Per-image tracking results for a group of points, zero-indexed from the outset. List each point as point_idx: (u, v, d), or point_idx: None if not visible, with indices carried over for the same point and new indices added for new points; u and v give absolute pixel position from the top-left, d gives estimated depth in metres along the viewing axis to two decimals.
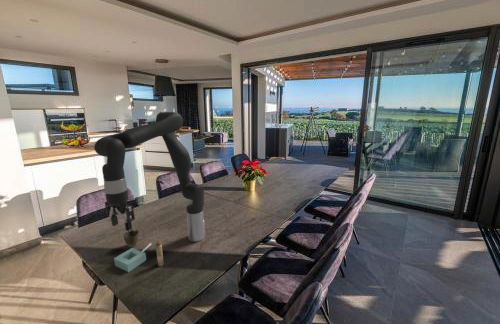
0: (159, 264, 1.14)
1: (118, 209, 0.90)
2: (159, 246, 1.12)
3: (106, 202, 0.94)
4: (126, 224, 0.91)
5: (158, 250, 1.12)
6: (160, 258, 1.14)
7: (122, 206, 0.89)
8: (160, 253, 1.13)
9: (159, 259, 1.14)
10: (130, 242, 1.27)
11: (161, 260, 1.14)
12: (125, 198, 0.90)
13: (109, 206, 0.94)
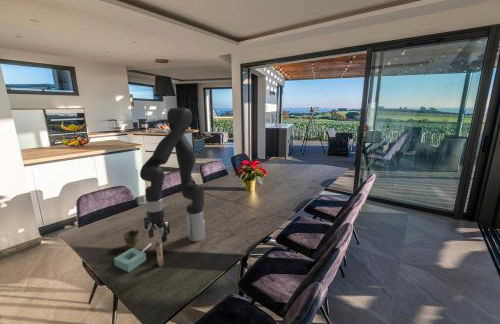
0: (159, 264, 1.14)
1: (156, 224, 1.08)
2: (159, 246, 1.12)
3: (145, 218, 1.12)
4: (162, 237, 1.09)
5: (158, 250, 1.12)
6: (160, 258, 1.14)
7: (160, 222, 1.08)
8: (160, 253, 1.13)
9: (159, 259, 1.14)
10: (130, 242, 1.27)
11: (161, 260, 1.14)
12: (162, 215, 1.08)
13: (147, 221, 1.12)
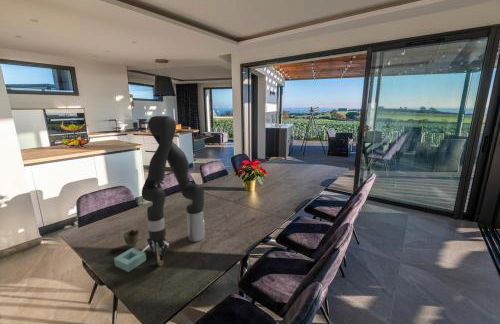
0: (159, 264, 1.14)
1: (158, 243, 1.10)
2: None
3: (148, 239, 1.14)
4: (160, 255, 1.13)
5: (158, 250, 1.12)
6: None
7: (162, 240, 1.10)
8: None
9: (159, 259, 1.14)
10: (130, 242, 1.27)
11: None
12: (164, 234, 1.11)
13: (151, 241, 1.14)
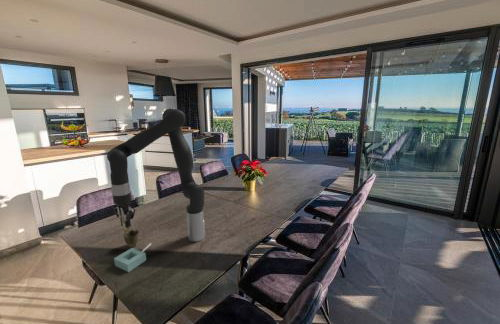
0: (124, 231, 1.11)
1: (123, 208, 1.07)
2: None
3: (113, 205, 1.11)
4: (126, 222, 1.10)
5: (123, 217, 1.09)
6: None
7: (126, 206, 1.07)
8: None
9: (124, 226, 1.10)
10: (130, 242, 1.27)
11: None
12: (129, 199, 1.08)
13: (117, 208, 1.11)
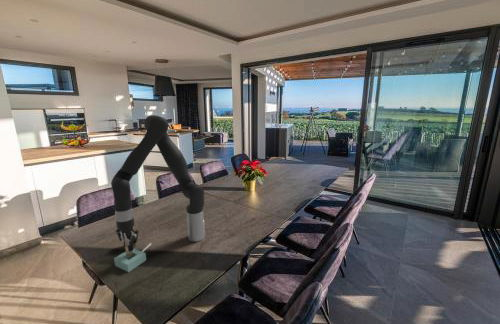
0: (127, 255, 1.14)
1: (126, 233, 1.10)
2: None
3: (116, 230, 1.14)
4: (129, 246, 1.12)
5: (126, 241, 1.12)
6: None
7: (129, 231, 1.10)
8: None
9: (127, 250, 1.13)
10: None
11: None
12: (132, 224, 1.11)
13: (120, 232, 1.14)
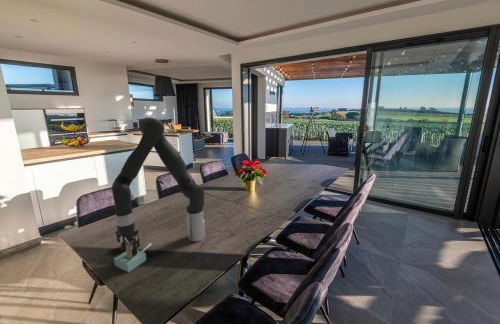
0: None
1: (127, 238, 1.11)
2: (129, 245, 1.13)
3: (117, 232, 1.14)
4: (132, 250, 1.12)
5: (128, 249, 1.13)
6: (130, 257, 1.15)
7: (130, 235, 1.10)
8: (130, 252, 1.14)
9: (129, 258, 1.14)
10: None
11: None
12: (132, 229, 1.11)
13: (119, 235, 1.15)
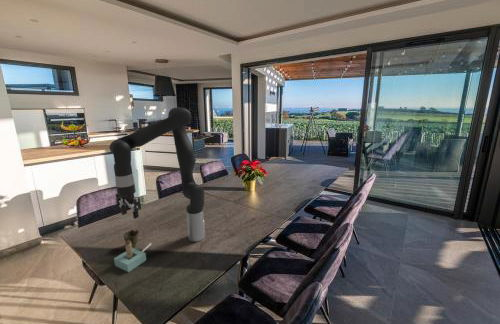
0: None
1: (127, 200, 1.07)
2: (128, 245, 1.13)
3: (117, 194, 1.11)
4: (134, 213, 1.08)
5: (127, 249, 1.13)
6: (130, 257, 1.15)
7: (130, 197, 1.06)
8: (129, 252, 1.14)
9: (129, 258, 1.15)
10: None
11: None
12: (133, 191, 1.07)
13: (119, 198, 1.11)
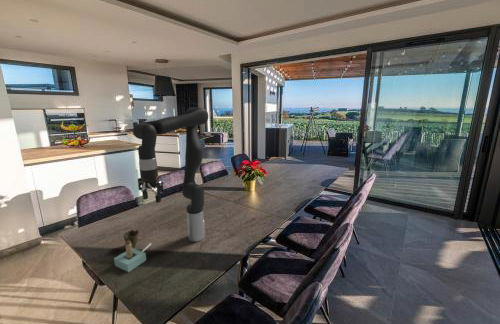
0: None
1: (150, 184, 1.07)
2: (128, 245, 1.13)
3: (139, 179, 1.11)
4: (156, 197, 1.08)
5: (127, 249, 1.13)
6: (130, 257, 1.15)
7: (153, 181, 1.07)
8: (129, 252, 1.14)
9: (129, 258, 1.14)
10: None
11: None
12: (156, 175, 1.08)
13: (141, 182, 1.12)
